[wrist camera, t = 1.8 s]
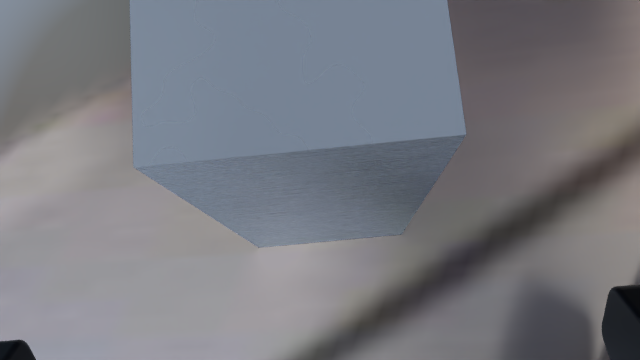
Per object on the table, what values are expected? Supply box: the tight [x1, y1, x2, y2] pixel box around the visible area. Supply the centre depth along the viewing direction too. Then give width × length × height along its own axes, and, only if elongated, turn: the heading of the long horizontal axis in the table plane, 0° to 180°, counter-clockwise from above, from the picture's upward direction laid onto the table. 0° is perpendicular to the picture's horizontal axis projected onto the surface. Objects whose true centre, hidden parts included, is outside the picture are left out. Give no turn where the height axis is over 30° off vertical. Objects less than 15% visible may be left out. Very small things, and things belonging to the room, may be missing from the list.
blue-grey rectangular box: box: [130, 0, 466, 248], centre depth 16 cm, size 5×5×12 cm
